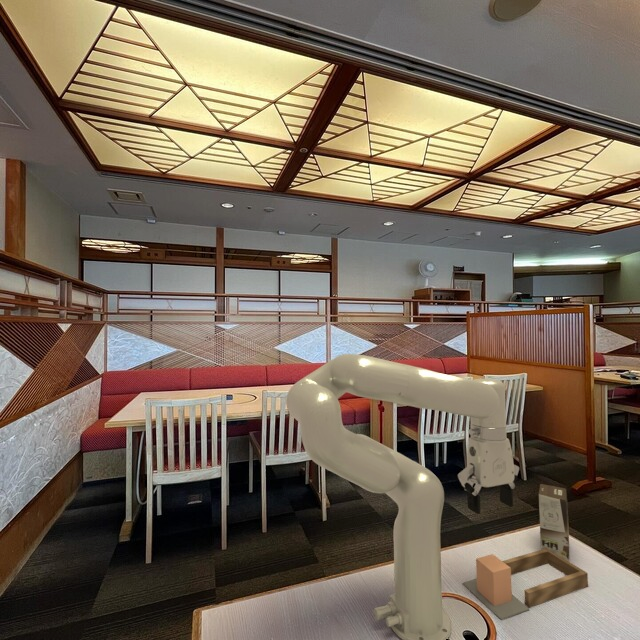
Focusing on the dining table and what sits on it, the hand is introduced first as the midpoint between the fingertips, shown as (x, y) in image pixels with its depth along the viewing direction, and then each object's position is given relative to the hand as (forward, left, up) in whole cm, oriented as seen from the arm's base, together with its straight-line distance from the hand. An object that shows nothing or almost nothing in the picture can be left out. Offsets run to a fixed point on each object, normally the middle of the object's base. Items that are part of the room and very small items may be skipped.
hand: (490, 507), depth 77 cm
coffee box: (+30, +7, -20) cm, 36 cm away
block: (0, 0, -19) cm, 19 cm away
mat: (0, 0, -20) cm, 20 cm away
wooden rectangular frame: (+14, 0, -20) cm, 24 cm away
